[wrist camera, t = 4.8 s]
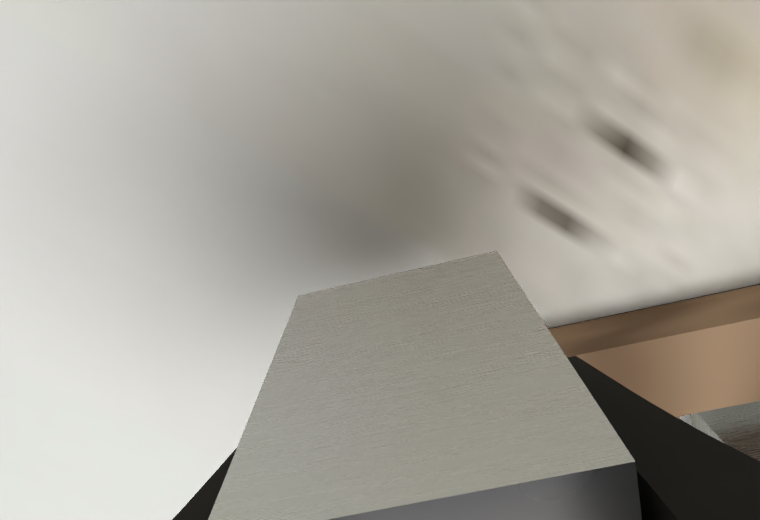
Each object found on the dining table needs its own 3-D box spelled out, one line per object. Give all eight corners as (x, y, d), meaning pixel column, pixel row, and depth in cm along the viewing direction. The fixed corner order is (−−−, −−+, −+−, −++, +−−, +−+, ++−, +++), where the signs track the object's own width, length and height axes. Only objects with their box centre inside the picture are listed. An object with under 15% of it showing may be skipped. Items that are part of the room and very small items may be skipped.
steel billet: (496, 250, 10) (636, 461, 5) (528, 421, 11) (667, 755, 6) (298, 296, 11) (198, 543, 5) (349, 457, 12) (316, 804, 6)
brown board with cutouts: (928, 248, 17) (995, 269, 16) (902, 542, 21) (952, 587, 20) (299, 381, 19) (290, 414, 17) (382, 630, 23) (382, 678, 21)
